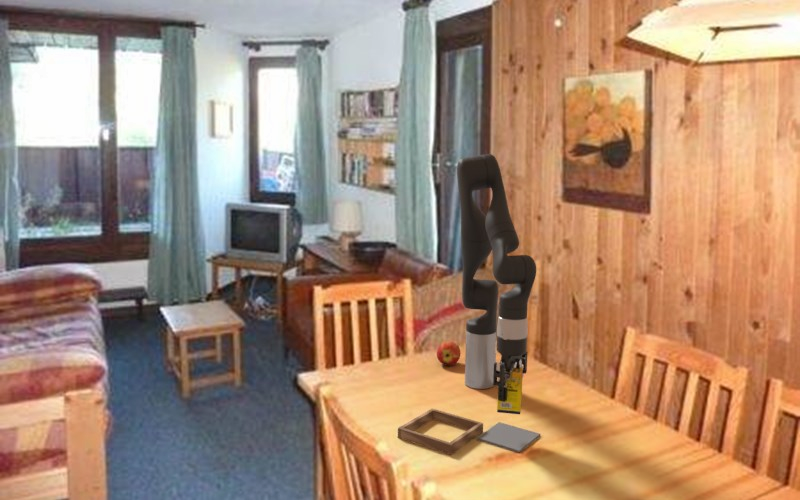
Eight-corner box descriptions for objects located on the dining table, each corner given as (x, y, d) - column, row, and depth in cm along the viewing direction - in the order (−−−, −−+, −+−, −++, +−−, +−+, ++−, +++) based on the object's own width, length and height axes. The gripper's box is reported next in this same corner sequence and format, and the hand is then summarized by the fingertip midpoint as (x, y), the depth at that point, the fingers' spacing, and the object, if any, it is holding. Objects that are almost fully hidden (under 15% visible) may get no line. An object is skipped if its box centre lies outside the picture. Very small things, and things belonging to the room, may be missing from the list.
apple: (435, 367, 229) (435, 344, 227) (438, 359, 237) (438, 337, 236) (459, 369, 227) (459, 346, 226) (461, 361, 236) (461, 338, 234)
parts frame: (432, 417, 189) (432, 408, 189) (483, 432, 180) (483, 423, 179) (397, 437, 176) (397, 428, 176) (450, 454, 167) (450, 445, 167)
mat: (499, 424, 185) (499, 422, 185) (540, 435, 178) (540, 433, 178) (476, 439, 175) (476, 437, 175) (519, 452, 168) (519, 450, 168)
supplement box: (520, 415, 172) (522, 373, 170) (496, 412, 173) (498, 371, 171) (521, 405, 177) (523, 365, 176) (498, 403, 179) (499, 363, 177)
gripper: (511, 325, 180) (509, 384, 182) (484, 337, 168) (482, 401, 171) (538, 330, 175) (535, 391, 178) (512, 343, 164) (509, 408, 167)
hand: (509, 395), depth 175 cm, fingers closed on supplement box, 7 cm apart
